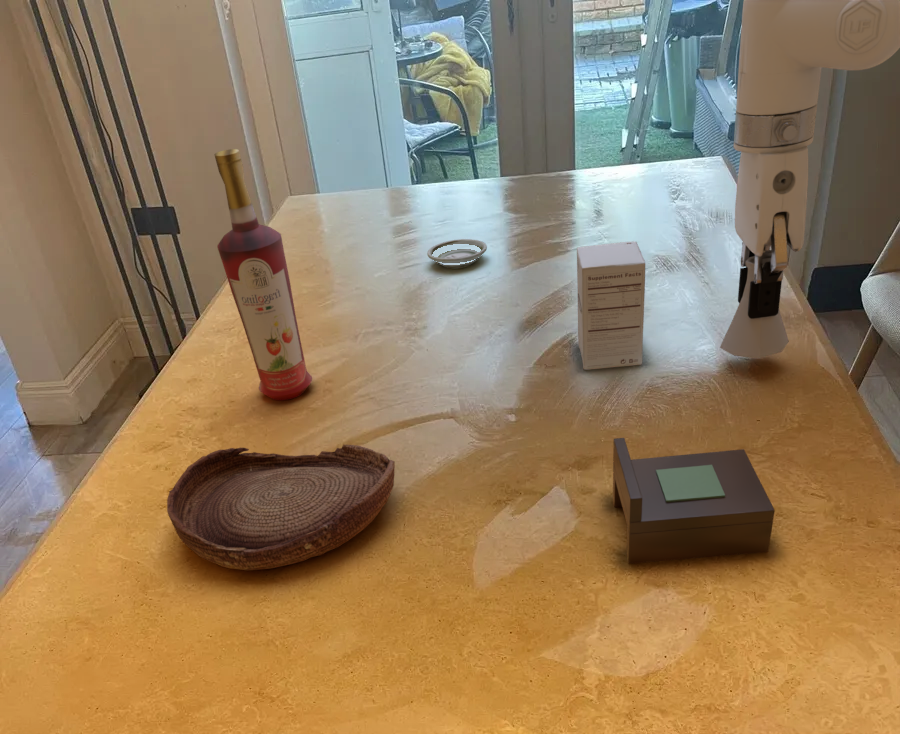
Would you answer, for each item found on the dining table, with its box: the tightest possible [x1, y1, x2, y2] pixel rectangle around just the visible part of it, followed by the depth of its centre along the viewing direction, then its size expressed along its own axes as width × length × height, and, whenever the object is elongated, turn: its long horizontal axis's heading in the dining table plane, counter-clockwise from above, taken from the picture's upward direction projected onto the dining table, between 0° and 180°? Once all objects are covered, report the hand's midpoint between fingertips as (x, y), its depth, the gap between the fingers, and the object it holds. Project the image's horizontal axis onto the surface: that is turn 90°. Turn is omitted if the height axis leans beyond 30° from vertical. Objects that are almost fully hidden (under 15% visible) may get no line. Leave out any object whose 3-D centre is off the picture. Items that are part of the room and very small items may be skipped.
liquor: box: [213, 148, 313, 401], centre depth 100 cm, size 7×7×28 cm
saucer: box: [426, 238, 488, 270], centre depth 137 cm, size 10×10×2 cm
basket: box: [166, 444, 396, 571], centre depth 84 cm, size 22×20×5 cm
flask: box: [719, 256, 790, 360], centre depth 95 cm, size 7×7×10 cm
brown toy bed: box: [612, 437, 776, 565], centre depth 75 cm, size 12×10×7 cm
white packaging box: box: [576, 240, 646, 371], centre depth 102 cm, size 7×7×13 cm
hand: (757, 307), depth 96 cm, fingers closed on flask, 3 cm apart
